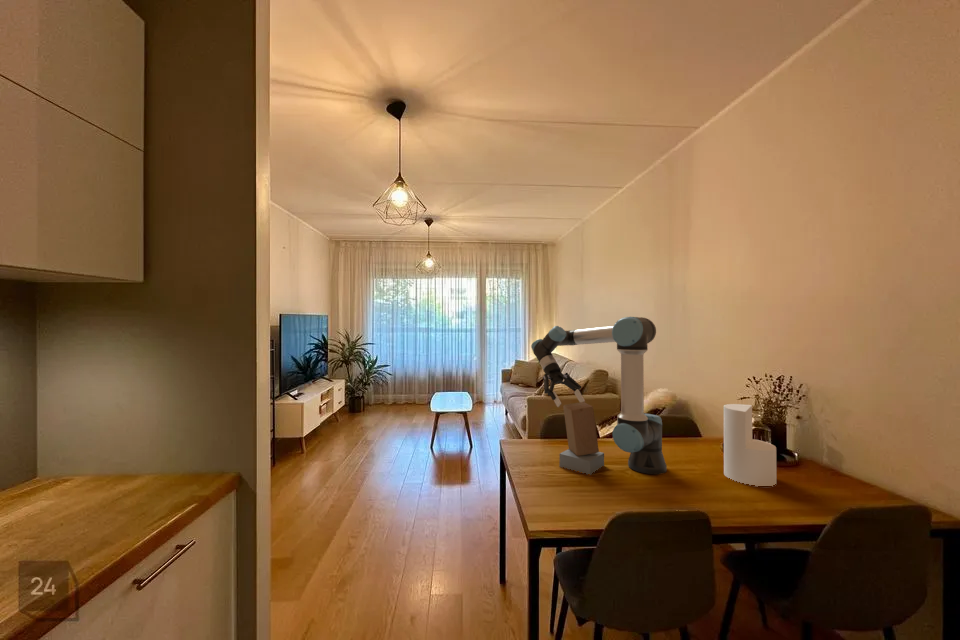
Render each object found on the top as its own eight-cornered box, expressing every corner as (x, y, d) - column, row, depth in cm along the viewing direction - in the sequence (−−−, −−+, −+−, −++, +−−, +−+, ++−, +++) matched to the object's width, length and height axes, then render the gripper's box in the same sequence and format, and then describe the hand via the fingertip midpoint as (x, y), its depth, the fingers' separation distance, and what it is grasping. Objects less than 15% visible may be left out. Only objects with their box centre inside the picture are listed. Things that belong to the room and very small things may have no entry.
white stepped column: (719, 478, 151) (719, 408, 152) (728, 466, 164) (727, 402, 164) (774, 491, 139) (773, 415, 140) (778, 477, 152) (778, 408, 153)
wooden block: (599, 452, 160) (593, 406, 160) (577, 456, 159) (571, 409, 159) (589, 445, 170) (583, 401, 170) (568, 449, 169) (562, 405, 169)
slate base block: (604, 466, 164) (604, 452, 164) (590, 476, 153) (590, 461, 153) (574, 459, 173) (574, 446, 173) (559, 467, 163) (559, 453, 163)
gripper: (566, 370, 189) (588, 406, 176) (525, 373, 178) (545, 411, 164) (574, 360, 185) (596, 396, 171) (532, 362, 173) (553, 401, 160)
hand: (571, 403), depth 168 cm, fingers open, 13 cm apart
